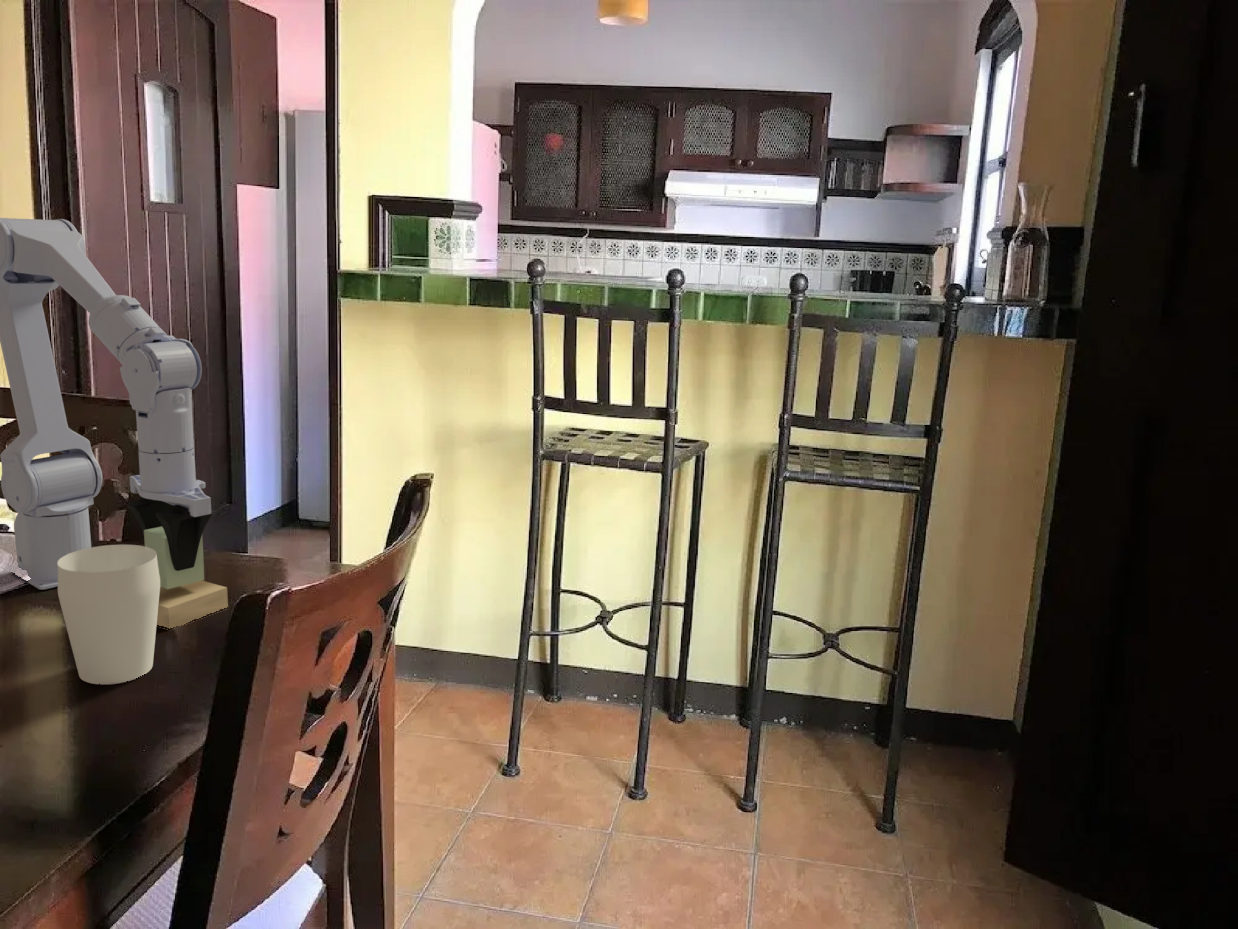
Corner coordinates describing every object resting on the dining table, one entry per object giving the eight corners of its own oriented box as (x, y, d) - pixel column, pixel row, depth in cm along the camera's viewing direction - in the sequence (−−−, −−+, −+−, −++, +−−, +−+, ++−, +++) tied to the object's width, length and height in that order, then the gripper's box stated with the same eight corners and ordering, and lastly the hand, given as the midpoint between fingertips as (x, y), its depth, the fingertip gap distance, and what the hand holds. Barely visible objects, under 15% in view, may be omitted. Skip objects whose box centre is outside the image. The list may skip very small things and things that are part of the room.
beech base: (123, 618, 113) (121, 593, 113) (182, 597, 120) (180, 574, 120) (170, 633, 110) (168, 608, 109) (228, 611, 117) (227, 587, 116)
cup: (125, 696, 94) (116, 577, 91) (43, 684, 96) (32, 567, 93) (184, 659, 103) (178, 549, 100) (108, 648, 104) (100, 540, 102)
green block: (146, 579, 114) (143, 530, 113) (183, 570, 117) (181, 522, 116) (167, 589, 111) (164, 538, 110) (204, 579, 115) (202, 530, 113)
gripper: (234, 454, 109) (239, 570, 112) (168, 434, 118) (175, 542, 121) (172, 463, 104) (179, 585, 107) (108, 441, 113) (116, 554, 116)
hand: (173, 563), depth 114 cm, fingers closed on green block, 4 cm apart
